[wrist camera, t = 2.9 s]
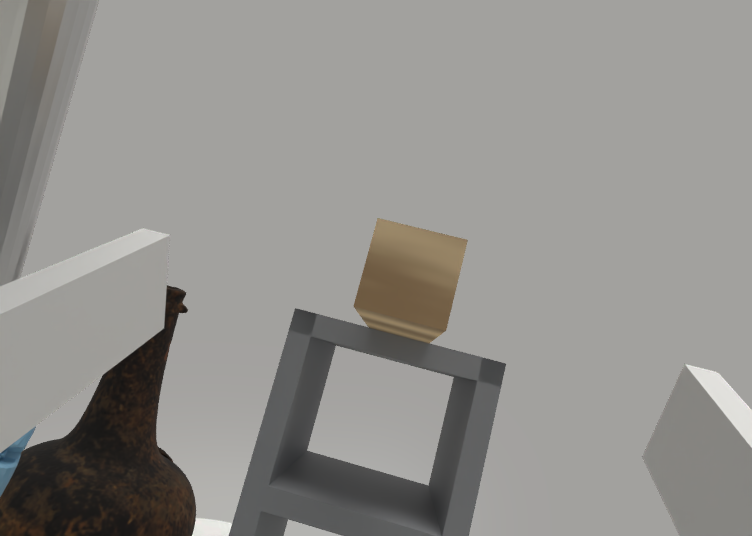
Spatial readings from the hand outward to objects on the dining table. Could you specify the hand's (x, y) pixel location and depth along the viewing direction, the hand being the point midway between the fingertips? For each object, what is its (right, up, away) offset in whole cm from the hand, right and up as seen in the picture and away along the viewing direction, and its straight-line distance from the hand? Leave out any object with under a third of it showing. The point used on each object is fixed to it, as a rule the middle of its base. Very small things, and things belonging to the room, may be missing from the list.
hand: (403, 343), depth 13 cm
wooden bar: (+1, -3, +23) cm, 24 cm away
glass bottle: (-28, -27, +33) cm, 51 cm away
